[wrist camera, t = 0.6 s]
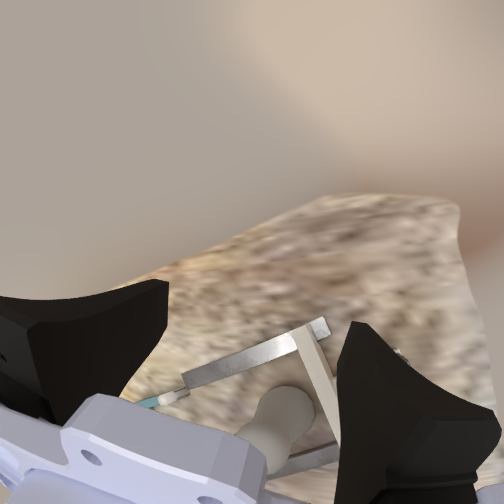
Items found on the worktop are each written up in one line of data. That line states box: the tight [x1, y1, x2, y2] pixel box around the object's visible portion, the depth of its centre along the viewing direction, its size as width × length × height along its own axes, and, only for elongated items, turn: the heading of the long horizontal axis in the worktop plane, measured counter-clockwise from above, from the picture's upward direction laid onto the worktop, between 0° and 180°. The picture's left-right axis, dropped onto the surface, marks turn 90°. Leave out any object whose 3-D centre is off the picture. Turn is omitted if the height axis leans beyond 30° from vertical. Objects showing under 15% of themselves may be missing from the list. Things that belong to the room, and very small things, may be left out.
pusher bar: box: [290, 324, 411, 447], centre depth 26 cm, size 15×8×8 cm, turn 23°
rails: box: [181, 316, 340, 481], centre depth 31 cm, size 15×17×1 cm
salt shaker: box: [235, 386, 315, 475], centre depth 25 cm, size 6×6×13 cm
